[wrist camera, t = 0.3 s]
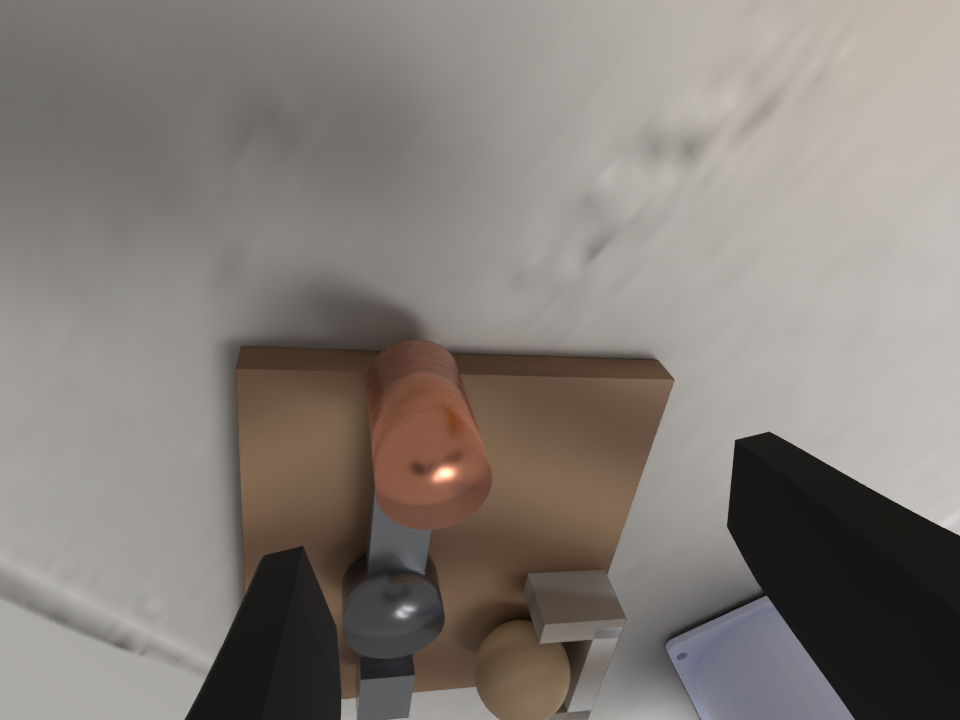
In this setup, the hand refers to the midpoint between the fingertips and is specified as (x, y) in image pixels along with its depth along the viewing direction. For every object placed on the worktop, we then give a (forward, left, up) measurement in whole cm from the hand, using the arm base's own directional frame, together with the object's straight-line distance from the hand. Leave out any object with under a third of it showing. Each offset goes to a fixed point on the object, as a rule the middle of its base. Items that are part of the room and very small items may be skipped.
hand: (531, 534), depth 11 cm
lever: (-6, +5, -8) cm, 11 cm away
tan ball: (-14, +4, -8) cm, 16 cm away
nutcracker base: (-8, +4, -10) cm, 13 cm away
